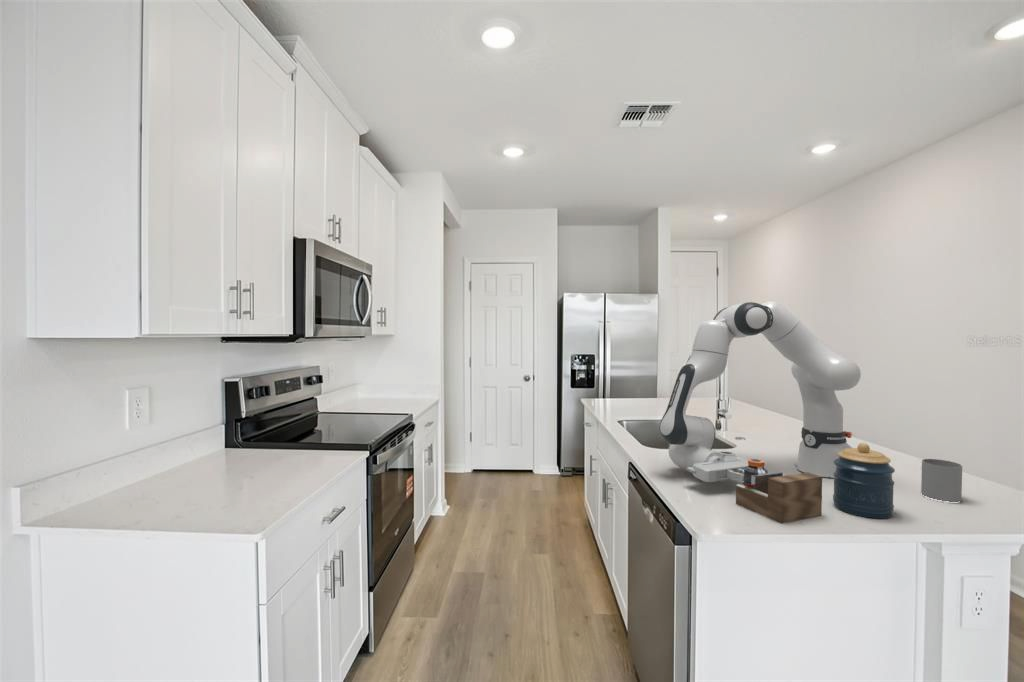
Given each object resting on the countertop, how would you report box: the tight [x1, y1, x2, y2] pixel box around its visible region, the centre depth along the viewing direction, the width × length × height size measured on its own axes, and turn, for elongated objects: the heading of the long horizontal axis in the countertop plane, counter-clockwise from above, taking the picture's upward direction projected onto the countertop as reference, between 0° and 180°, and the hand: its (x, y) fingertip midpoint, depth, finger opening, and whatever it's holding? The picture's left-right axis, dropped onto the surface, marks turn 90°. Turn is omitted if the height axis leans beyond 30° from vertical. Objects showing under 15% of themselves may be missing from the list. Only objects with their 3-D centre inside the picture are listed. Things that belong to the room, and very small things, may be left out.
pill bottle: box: [743, 458, 769, 486], centre depth 132 cm, size 6×6×11 cm
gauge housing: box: [735, 472, 823, 524], centre depth 125 cm, size 14×14×10 cm
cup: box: [920, 458, 963, 502], centre depth 134 cm, size 8×8×10 cm
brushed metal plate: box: [745, 471, 784, 494], centre depth 128 cm, size 12×1×8 cm, turn 111°
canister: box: [832, 442, 896, 519], centre depth 125 cm, size 13×13×18 cm
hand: (746, 477), depth 134 cm, fingers closed, pressing on pill bottle
